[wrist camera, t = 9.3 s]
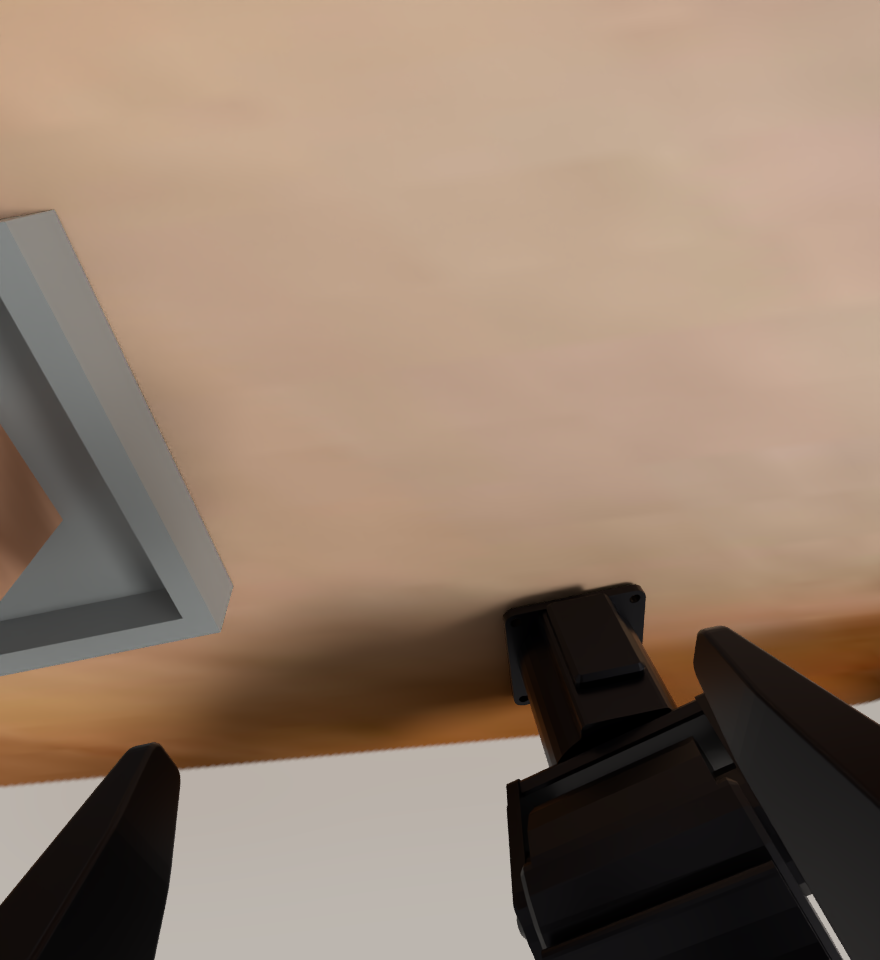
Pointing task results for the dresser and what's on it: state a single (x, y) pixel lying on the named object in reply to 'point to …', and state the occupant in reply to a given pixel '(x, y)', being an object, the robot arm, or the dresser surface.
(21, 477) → the block
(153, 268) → the dresser surface
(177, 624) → the tray
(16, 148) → the dresser surface
